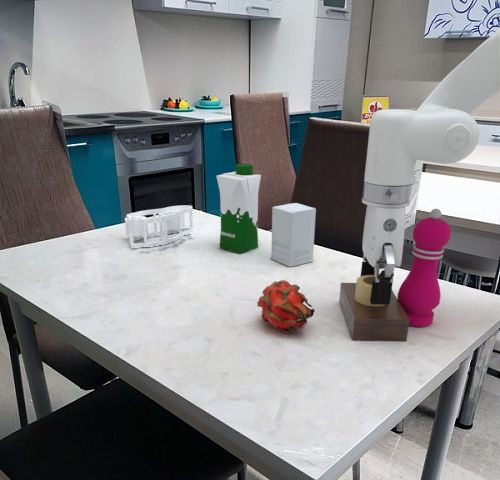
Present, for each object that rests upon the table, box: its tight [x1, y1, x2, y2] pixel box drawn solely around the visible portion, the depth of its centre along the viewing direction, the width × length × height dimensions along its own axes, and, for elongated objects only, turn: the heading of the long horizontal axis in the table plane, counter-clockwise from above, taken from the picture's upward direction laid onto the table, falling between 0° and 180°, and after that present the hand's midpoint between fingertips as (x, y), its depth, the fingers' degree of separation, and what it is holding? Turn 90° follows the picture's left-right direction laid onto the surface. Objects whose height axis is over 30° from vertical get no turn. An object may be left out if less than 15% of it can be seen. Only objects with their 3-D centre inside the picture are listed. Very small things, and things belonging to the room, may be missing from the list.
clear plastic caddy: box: [124, 204, 194, 249], centre depth 133 cm, size 20×11×7 cm, turn 126°
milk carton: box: [215, 163, 262, 255], centre depth 123 cm, size 9×9×20 cm
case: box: [338, 282, 410, 342], centre depth 90 cm, size 9×16×4 cm, turn 179°
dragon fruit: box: [256, 279, 316, 334], centre depth 87 cm, size 8×8×12 cm
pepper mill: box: [396, 208, 452, 328], centre depth 87 cm, size 7×7×20 cm
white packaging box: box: [270, 202, 317, 268], centre depth 117 cm, size 7×7×13 cm
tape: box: [355, 275, 385, 306], centre depth 89 cm, size 6×6×4 cm
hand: (373, 292), depth 89 cm, fingers open, 9 cm apart
